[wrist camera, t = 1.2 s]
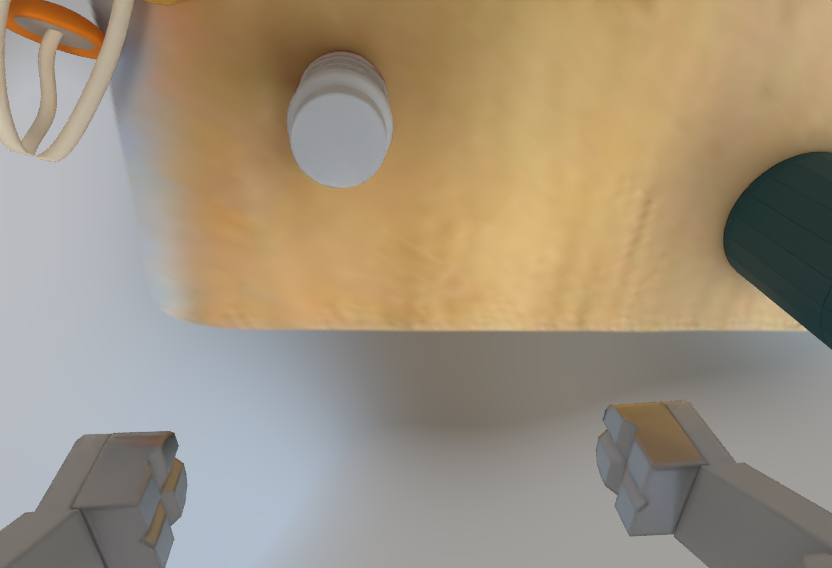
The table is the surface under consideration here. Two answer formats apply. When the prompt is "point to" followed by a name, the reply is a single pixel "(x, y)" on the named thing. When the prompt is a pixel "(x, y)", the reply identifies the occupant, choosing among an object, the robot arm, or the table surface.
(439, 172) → the table surface
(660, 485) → the robot arm
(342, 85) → the pill bottle
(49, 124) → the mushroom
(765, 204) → the jar
